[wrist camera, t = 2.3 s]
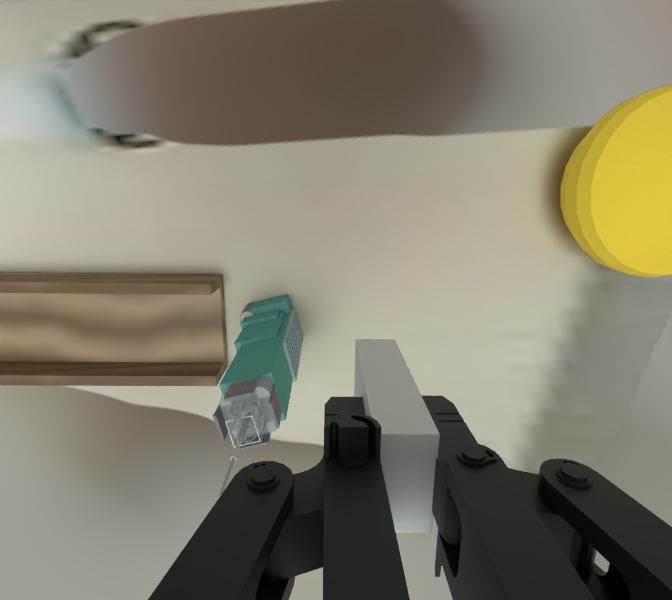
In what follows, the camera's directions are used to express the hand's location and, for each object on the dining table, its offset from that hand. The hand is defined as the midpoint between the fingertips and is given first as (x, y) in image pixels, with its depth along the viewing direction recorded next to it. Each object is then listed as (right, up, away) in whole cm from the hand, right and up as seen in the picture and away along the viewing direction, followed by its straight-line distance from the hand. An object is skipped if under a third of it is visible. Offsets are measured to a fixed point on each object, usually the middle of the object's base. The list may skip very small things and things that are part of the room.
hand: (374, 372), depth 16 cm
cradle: (-29, 0, +35) cm, 45 cm away
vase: (+31, +16, +32) cm, 48 cm away
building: (-9, 0, +36) cm, 37 cm away
